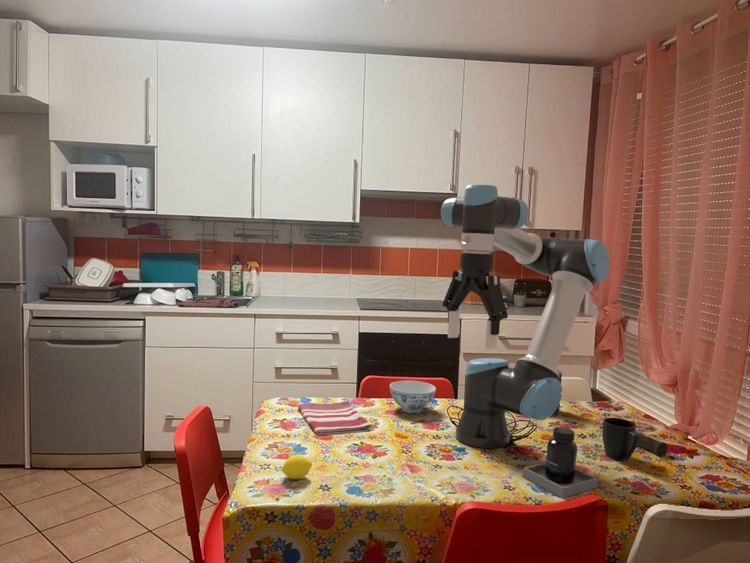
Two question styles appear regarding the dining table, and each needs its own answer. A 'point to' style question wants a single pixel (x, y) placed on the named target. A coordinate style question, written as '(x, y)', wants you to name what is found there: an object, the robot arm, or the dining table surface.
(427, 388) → the chinaware
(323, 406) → the dish towel
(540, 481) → the tray
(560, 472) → the supplement bottle
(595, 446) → the dining table surface
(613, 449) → the mug
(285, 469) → the lemon
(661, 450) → the hand tool
